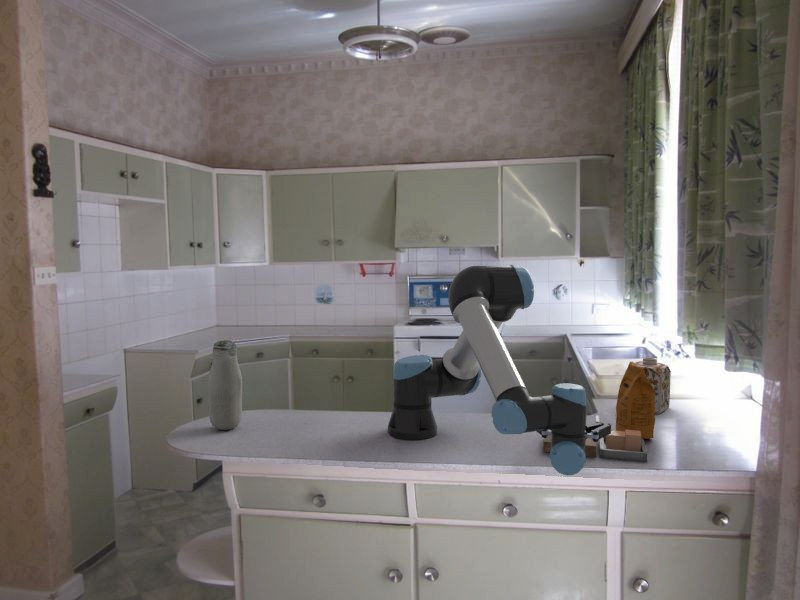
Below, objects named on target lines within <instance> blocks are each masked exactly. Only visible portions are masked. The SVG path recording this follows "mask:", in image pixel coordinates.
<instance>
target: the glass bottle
mask: <svg viewBox="0 0 800 600" xmlns="http://www.w3.org/2000/svg"><path fill="white" fill-rule="evenodd" d="M212 356H213V357H212V361H211V366H210V371H209V374H208V379H207V394H208V416H209V417H208V418H209V420H210V421H209V422H210V423H211V426H212V427H214V428H215V429H217V430H219V431H229V430H233V429H235V428H237V427H238V426H239V425H240V423H241V421H242V415H243V376H242V372H241V368H240V364H239V361H238V360H239V359H238V347H237V344H236V343H235V342H234V341H232V340H227V339H226V340H225V339H224V340H219V341H216V342H215V343H213V348H212Z"/></svg>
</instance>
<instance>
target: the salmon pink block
mask: <svg viewBox="0 0 800 600" xmlns="http://www.w3.org/2000/svg"><path fill="white" fill-rule="evenodd" d="M606 449H614V450H625V431H616V430H612V429H611V434H609V435H607V436H606Z"/></svg>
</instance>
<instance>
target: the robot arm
mask: <svg viewBox="0 0 800 600" xmlns="http://www.w3.org/2000/svg"><path fill="white" fill-rule="evenodd" d="M534 285H535V284H534V281H533V278H532V275H531V273H530V271H529V270H528V269H527V268H526V267H524V266H522V265H514V264H506V265H505V264H503V265H502V264H501V265H498V264H497V265H473V266H472V265H471V266H468V267H465V268H463V269H462V270H461V271H459V272H458V273H457V274H456V276H455V277H454V278H453V280H452V282H451V284H450V286H449V289H448V307H449V310H450V311H449V312H450V313H451V315H452V317H453V319H454V321H455V322H456V323H458V324H460V326H461V327H462V331H461V333H460V334H459V337H458V338H457V340H456V342H455V344H454V346H453V347H452V348H448V349H447V350H446V351H445V352H444V353H443V355H442V358H440V359H438V358H437V359H432V357H431V356H430V355H427V354H426V355H424V354H419V355H418V354H416V355H409V356H405V357H402V358H400V359H398V360H396V362H394V364H393V373H392V378H393V380H392V381H393V409H392V412H391V415H390V419H389V421H388V425H387V434H388V435H389V436H391V437H393V438H396V439H400V440H409V441H412V440H414V441H415V440H425V439H431V438H432V437H435V436H437V435H438V424H437V421H436V418H435V415H434V412H433V410H432V409H433V408H432V401H433V400H432V398H442V397H443V398H444V397H452V396H453V397H455V396H466V395H469V394H470V395H471V394H473V393H474V392H475V391H476V390H477V389H478V387H479V386H480V383H481V379H480V378H481V377H482V374H483V376H484V378H485V380H486V382H487V385H488V387H489V389H490V391H491V394H492V396H493V398H494V400H495V402H494V403H493V405H492V408H491V418H492V423H493V426H494V428H495V430H496V431H497V432H498V433H500V434H501V435H522V434H524V433H525V434H526V433H532V432H536V433H538V434H539V435H541V438H543V439H545V438H547V437H548V435H551V451H550V453H549V459H550V463H551V466H552V468H553V469H554V470H555V471H556V472H557V473H559V474H561V475H564V476H573V475H576V474H578V473H580V472H581V471H582V470H583V468H584V466H585V464H586V460H587V459H586V457H587V456H586V455H585V441H586V439H587V438H591V440H593V442H596V443H598V442H599V441H600V439H601V438H603V437H605V436H607V435H609V434H611V430H612V423H609V422H608V423H604V421H603V420H600V415H599V414H598V415H597V414H596V415H595V423H591V424H587V417H586V415H587V407H588V405H587V403H588V402H587V390H586V388H584V386H582V385H579V384H576V383H567V382H566V383H565V382H564V383H561V382H560V383H557V384H554V385H553V386H552V390H551V394H549V395H540V396H539V395H537V396H531V394H530V393H529V390H528V389H527V387H526V384H525V382H524V380H523V378H522V376H521V374H520V373H519V370H518V369H517V366H516V364H515V362H514V360H513V359H512V356H511V354H510V352H509V349H508V348H507V345H506V343H505V342H504V339H503V338H502V336H501V333H500V332H499V329H500V327H501V325H502V324H503V323H504V322H508V321H510V320H511V319H513V316H514V315H515V313H516V312H517V310H519V309H521V310H524V309H527V308H528V309H529V307H531V305H532V303H533V300H534V297H535V289H534V287H535V286H534ZM585 423H586V426H585Z"/></svg>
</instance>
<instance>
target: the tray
mask: <svg viewBox="0 0 800 600" xmlns="http://www.w3.org/2000/svg"><path fill="white" fill-rule="evenodd" d="M599 458H605V459H615V460H625V461H637V462H648V451H647V447H646V443H645V439H643V438H641V452H636V451H625V450H614V449H606V436H605V437H603V438H601V439H599Z"/></svg>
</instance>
